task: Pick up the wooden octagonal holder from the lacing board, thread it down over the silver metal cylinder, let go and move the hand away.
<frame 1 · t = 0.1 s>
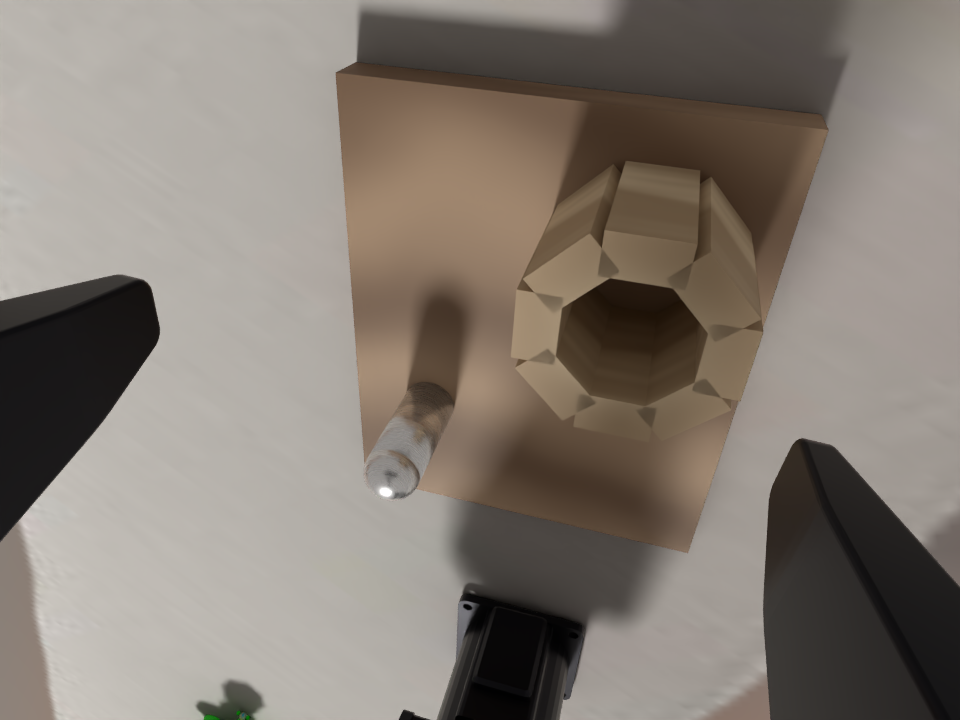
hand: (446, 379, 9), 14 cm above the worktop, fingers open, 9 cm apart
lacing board: (545, 326, 26), on the worktop
silver metal cylinder: (429, 402, 27), resting on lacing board
wooden octagonal holder: (643, 259, 21), point 1 cm above the worktop, touching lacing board
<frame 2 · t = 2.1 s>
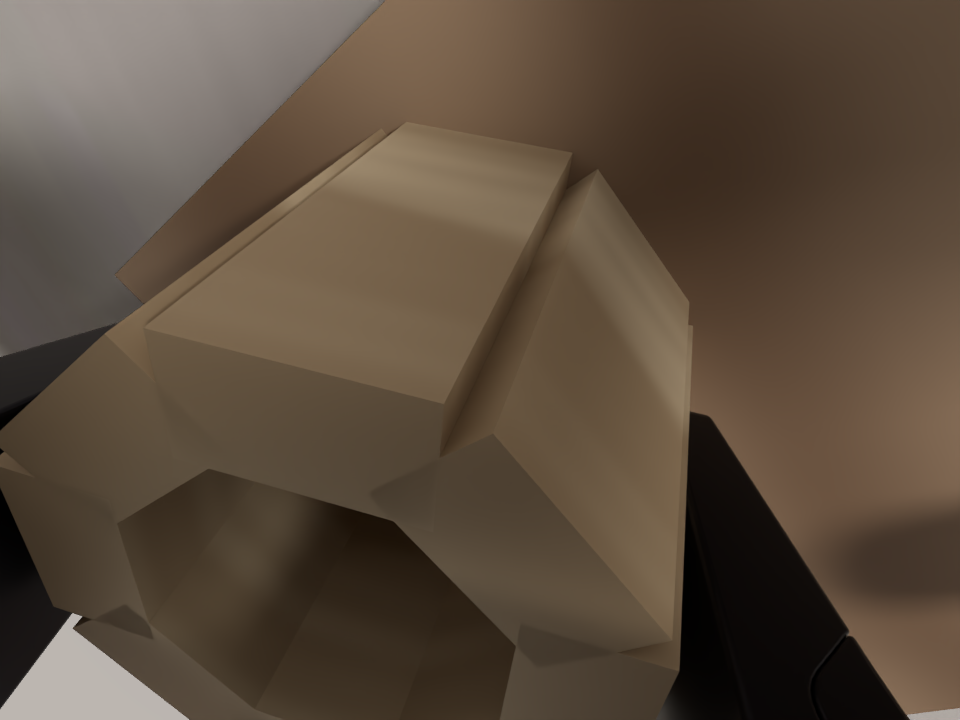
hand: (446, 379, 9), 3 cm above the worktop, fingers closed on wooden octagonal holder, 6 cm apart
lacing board: (822, 322, 10), on the worktop
wooden octagonal holder: (467, 340, 10), point 1 cm above the worktop, touching gripper, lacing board
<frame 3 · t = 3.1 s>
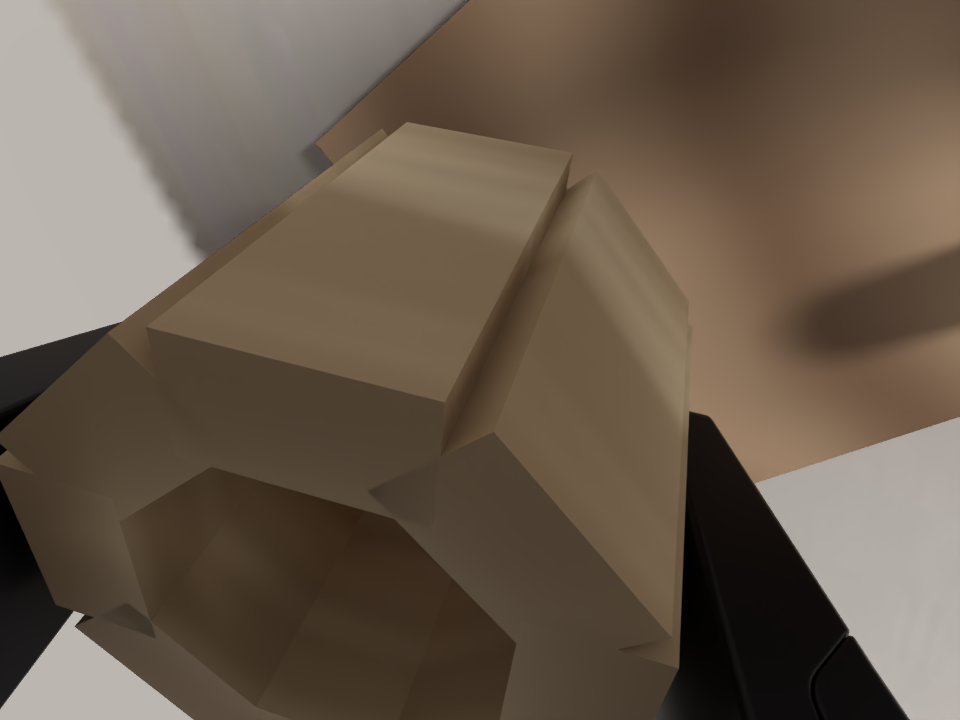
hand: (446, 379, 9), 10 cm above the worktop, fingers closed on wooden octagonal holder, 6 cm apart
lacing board: (791, 164, 16), on the worktop
wooden octagonal holder: (467, 339, 10), point 8 cm above the worktop, touching gripper
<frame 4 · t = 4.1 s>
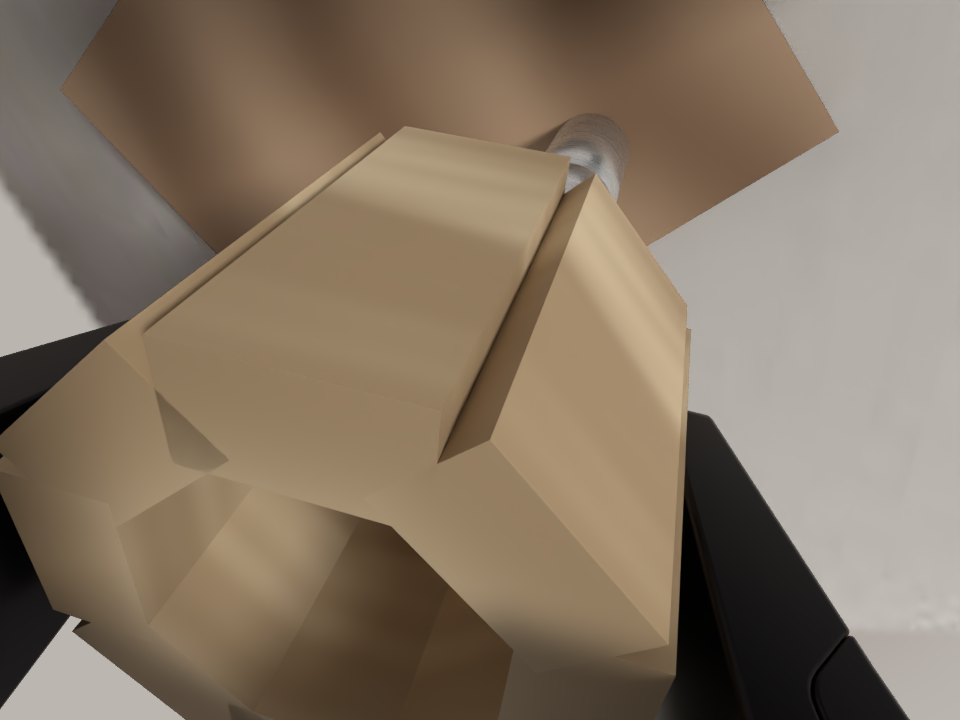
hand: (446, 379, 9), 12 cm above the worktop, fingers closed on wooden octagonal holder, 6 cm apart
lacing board: (416, 95, 20), on the worktop
silver metal cylinder: (590, 152, 18), resting on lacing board
wooden octagonal holder: (465, 342, 10), point 11 cm above the worktop, touching gripper
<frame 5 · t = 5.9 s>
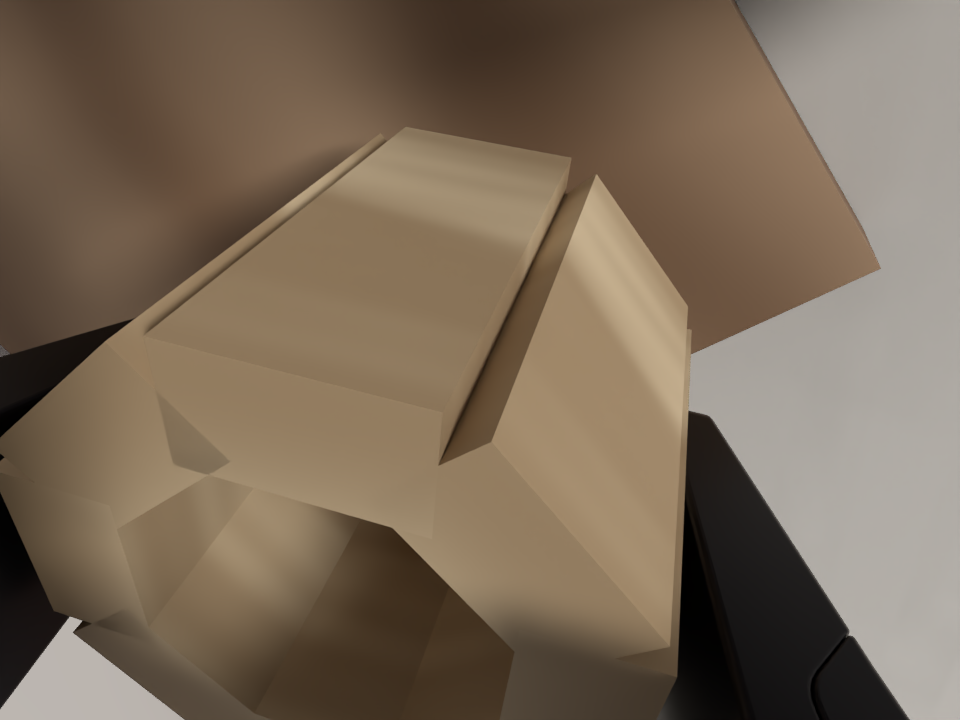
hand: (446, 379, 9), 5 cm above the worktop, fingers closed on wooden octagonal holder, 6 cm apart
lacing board: (267, 167, 14), on the worktop
wooden octagonal holder: (466, 343, 10), point 4 cm above the worktop, touching gripper
when the fingers open (4 cm above the worktop, at t = 7.2 s): wooden octagonal holder drops 2 cm, resting on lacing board.
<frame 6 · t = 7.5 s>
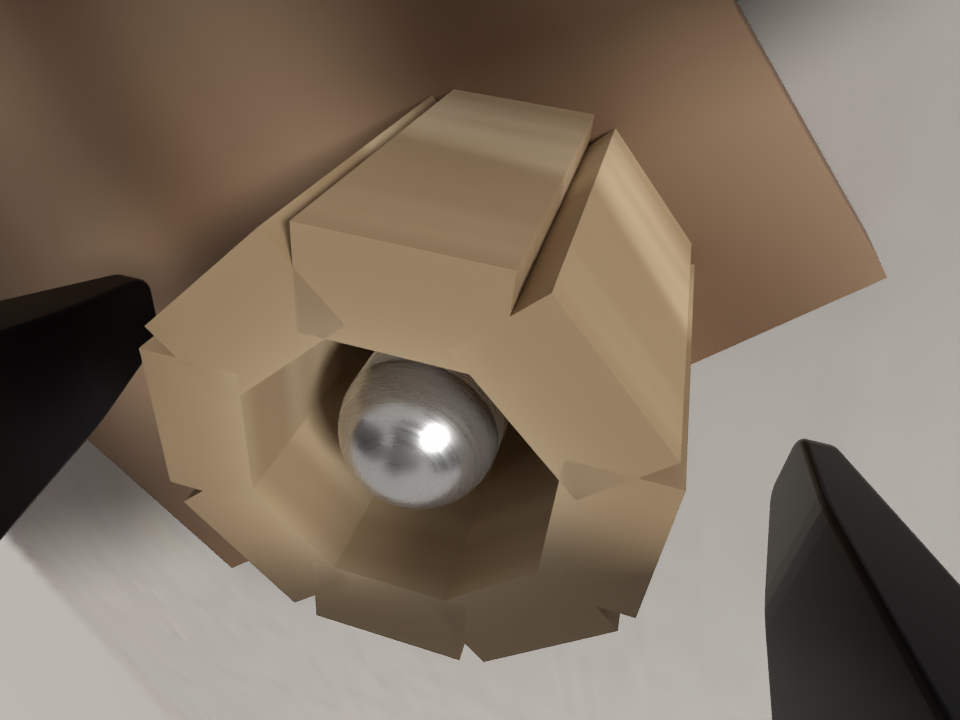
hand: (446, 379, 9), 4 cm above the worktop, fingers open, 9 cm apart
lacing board: (258, 171, 14), on the worktop
silver metal cylinder: (498, 279, 12), resting on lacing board
wooden octagonal holder: (499, 282, 12), point 1 cm above the worktop, touching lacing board
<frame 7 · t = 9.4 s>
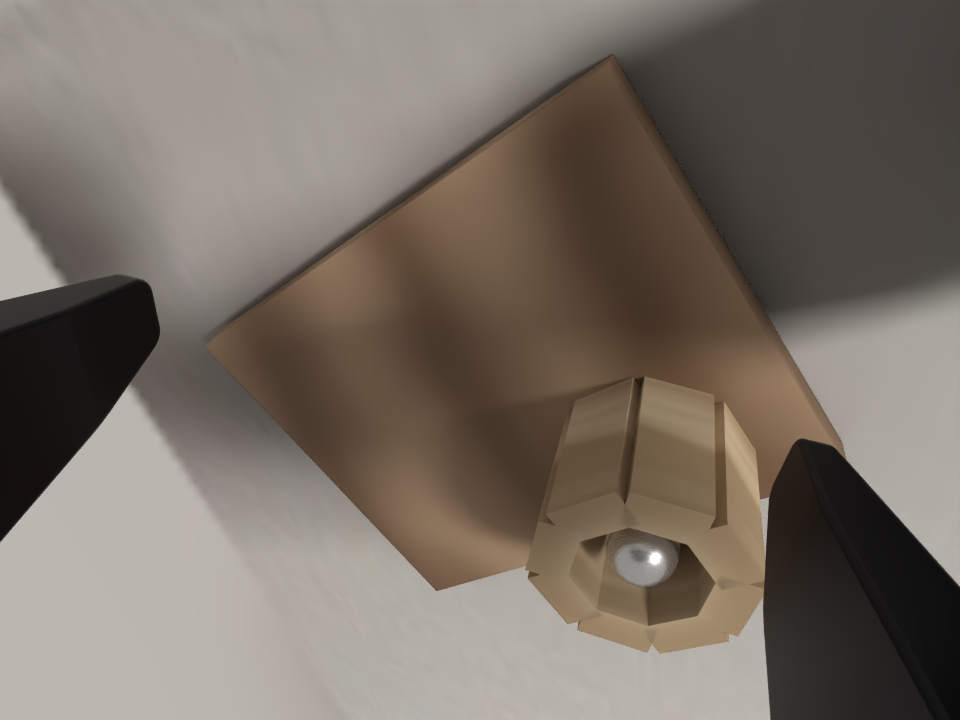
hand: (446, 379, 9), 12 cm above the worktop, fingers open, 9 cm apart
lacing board: (507, 378, 24), on the worktop
silver metal cylinder: (651, 455, 23), resting on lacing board
wooden octagonal holder: (651, 456, 23), point 1 cm above the worktop, touching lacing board
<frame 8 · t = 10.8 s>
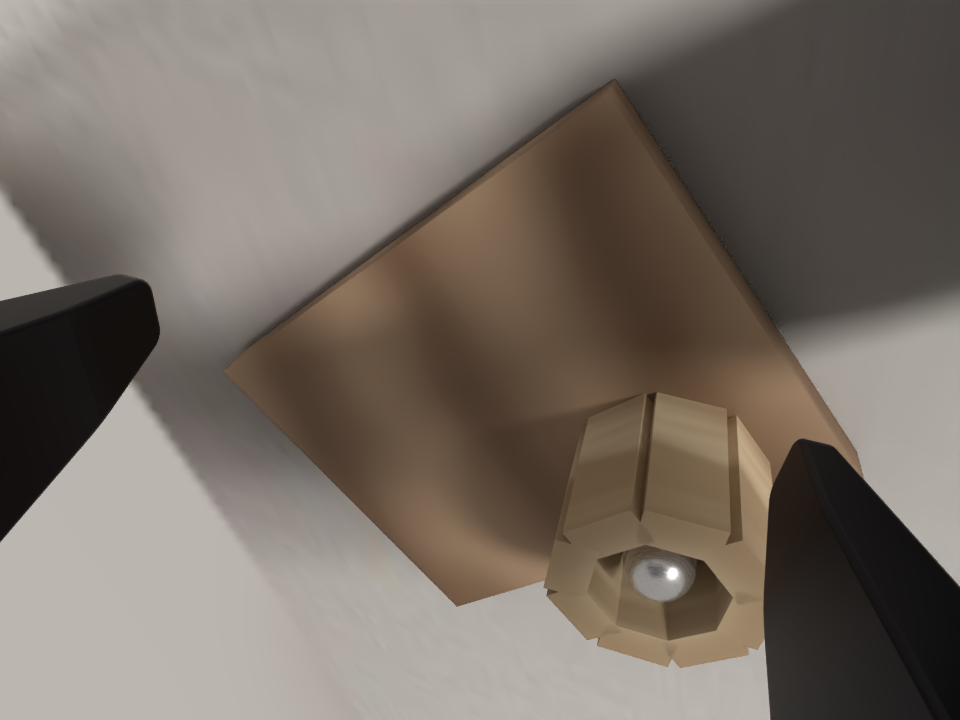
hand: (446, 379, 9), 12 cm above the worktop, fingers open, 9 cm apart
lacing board: (520, 396, 25), on the worktop
silver metal cylinder: (666, 469, 23), resting on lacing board
wooden octagonal holder: (666, 470, 23), point 1 cm above the worktop, touching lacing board
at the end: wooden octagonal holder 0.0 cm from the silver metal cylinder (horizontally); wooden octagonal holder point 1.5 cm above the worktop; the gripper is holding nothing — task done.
